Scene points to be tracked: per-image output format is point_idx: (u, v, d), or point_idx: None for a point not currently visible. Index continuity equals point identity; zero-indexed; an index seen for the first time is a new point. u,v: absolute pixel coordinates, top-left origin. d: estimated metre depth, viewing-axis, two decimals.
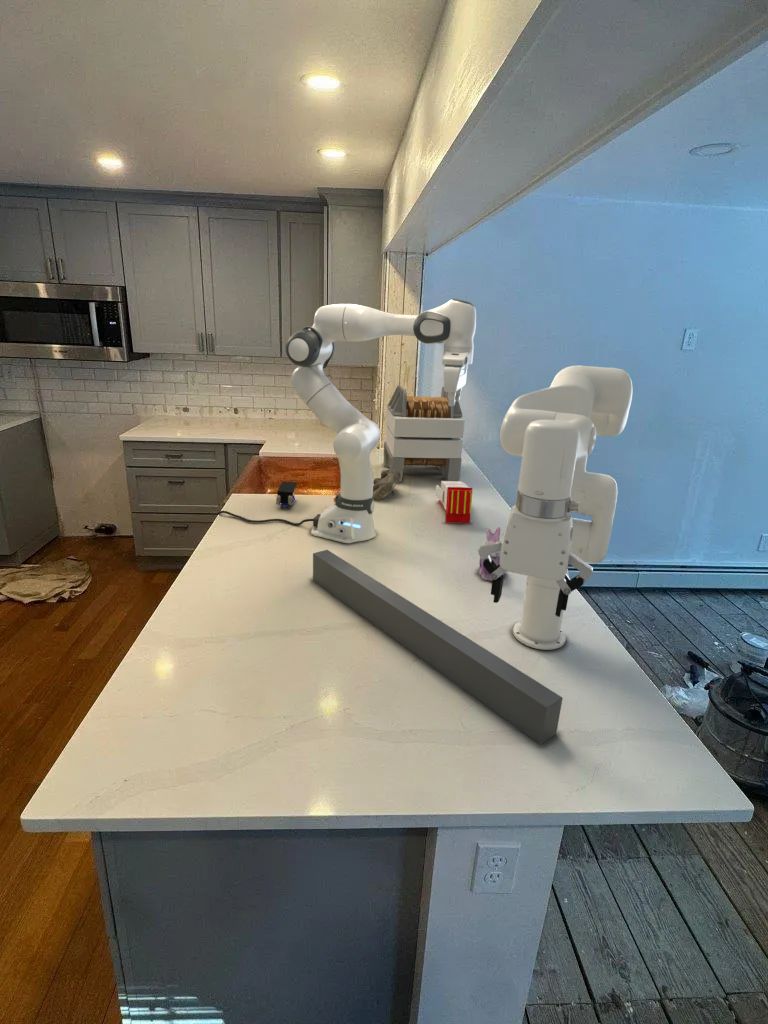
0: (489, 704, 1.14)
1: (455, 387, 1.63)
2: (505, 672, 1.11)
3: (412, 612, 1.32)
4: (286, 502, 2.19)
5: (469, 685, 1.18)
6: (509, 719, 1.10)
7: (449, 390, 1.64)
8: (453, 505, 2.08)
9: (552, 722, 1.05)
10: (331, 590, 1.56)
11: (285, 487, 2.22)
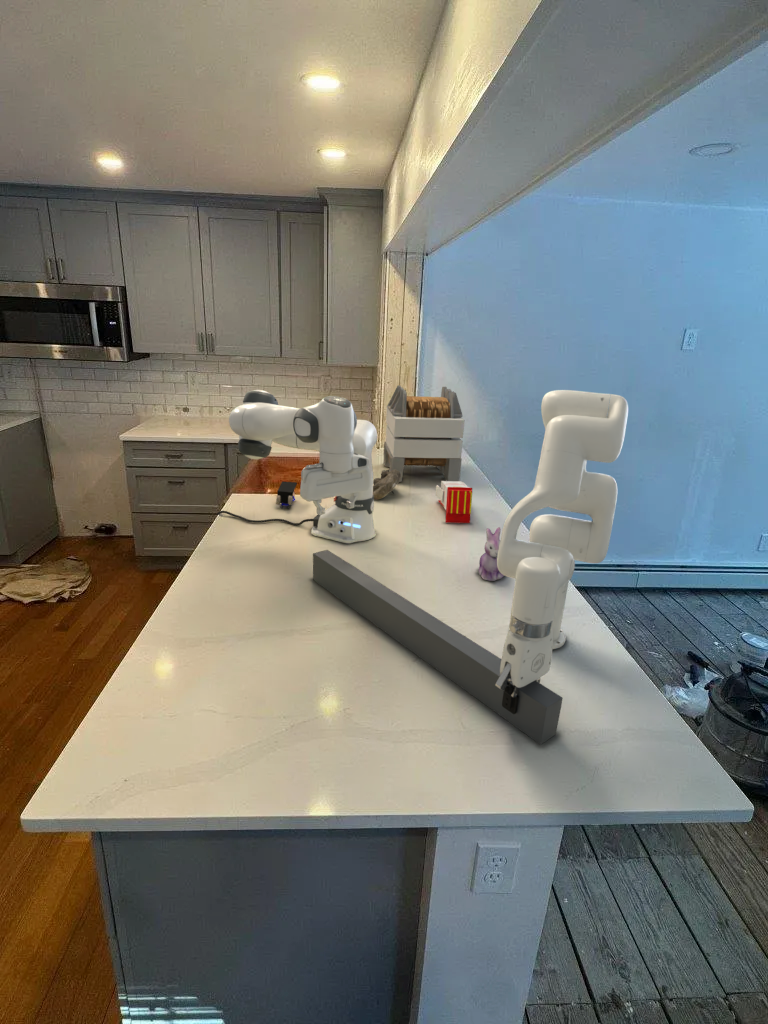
0: (489, 704, 1.14)
1: None
2: None
3: (412, 612, 1.32)
4: (286, 502, 2.19)
5: (469, 685, 1.18)
6: (509, 719, 1.10)
7: None
8: (453, 505, 2.08)
9: (552, 722, 1.05)
10: (331, 590, 1.56)
11: (285, 487, 2.22)
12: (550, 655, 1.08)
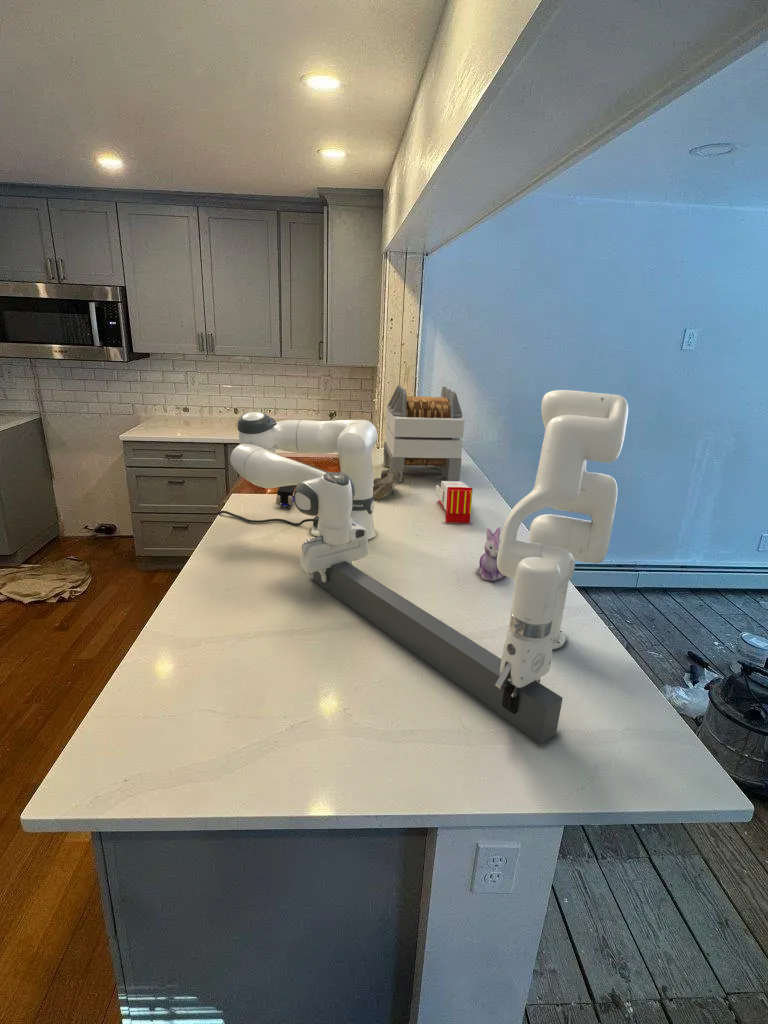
0: (489, 704, 1.14)
1: None
2: None
3: (412, 612, 1.32)
4: (286, 502, 2.19)
5: (469, 685, 1.18)
6: (509, 719, 1.10)
7: None
8: (453, 505, 2.08)
9: (552, 722, 1.05)
10: (331, 590, 1.56)
11: (285, 487, 2.22)
12: (550, 655, 1.08)
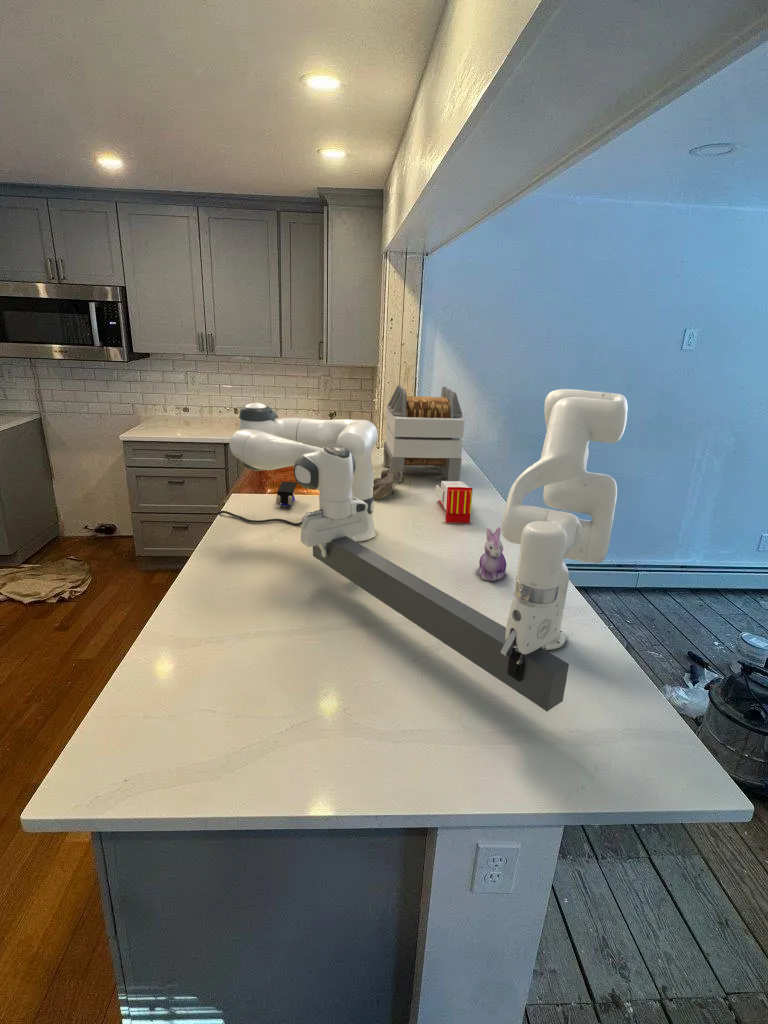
0: (494, 673, 1.12)
1: None
2: None
3: (414, 583, 1.30)
4: (286, 502, 2.19)
5: (473, 655, 1.16)
6: (514, 687, 1.09)
7: None
8: (453, 505, 2.08)
9: (558, 688, 1.03)
10: (331, 566, 1.54)
11: (285, 487, 2.22)
12: (556, 621, 1.06)
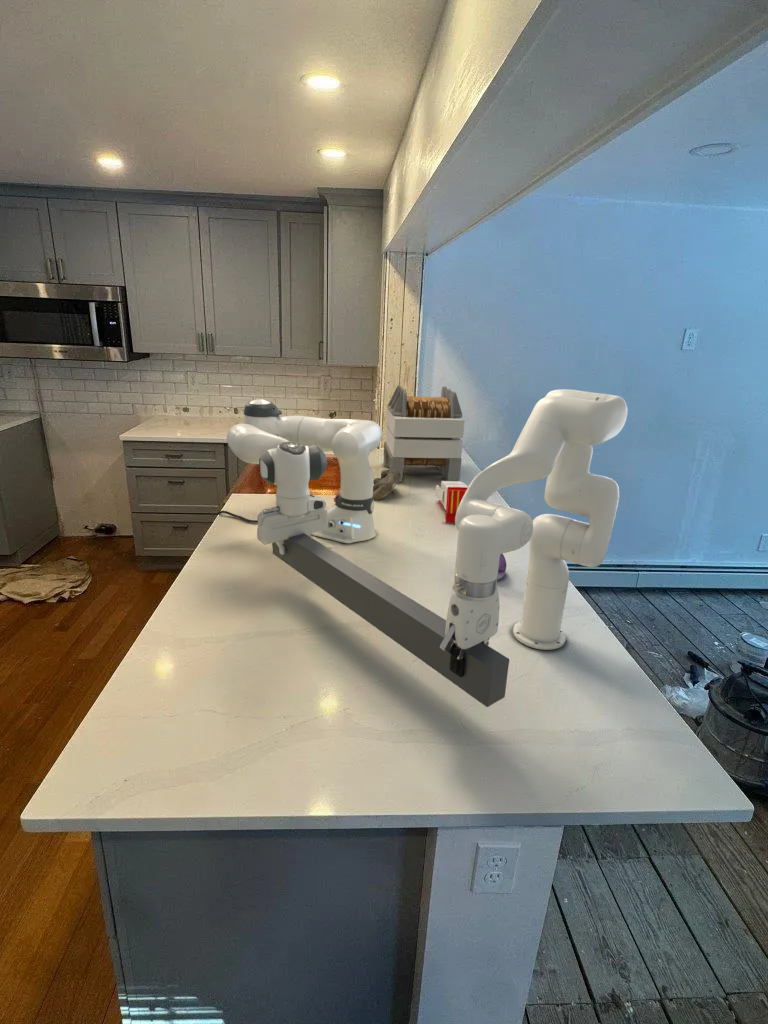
0: (438, 669, 1.11)
1: None
2: None
3: (365, 580, 1.29)
4: None
5: (419, 651, 1.15)
6: (457, 683, 1.08)
7: None
8: (453, 505, 2.08)
9: (498, 684, 1.03)
10: (289, 563, 1.53)
11: None
12: (497, 616, 1.05)
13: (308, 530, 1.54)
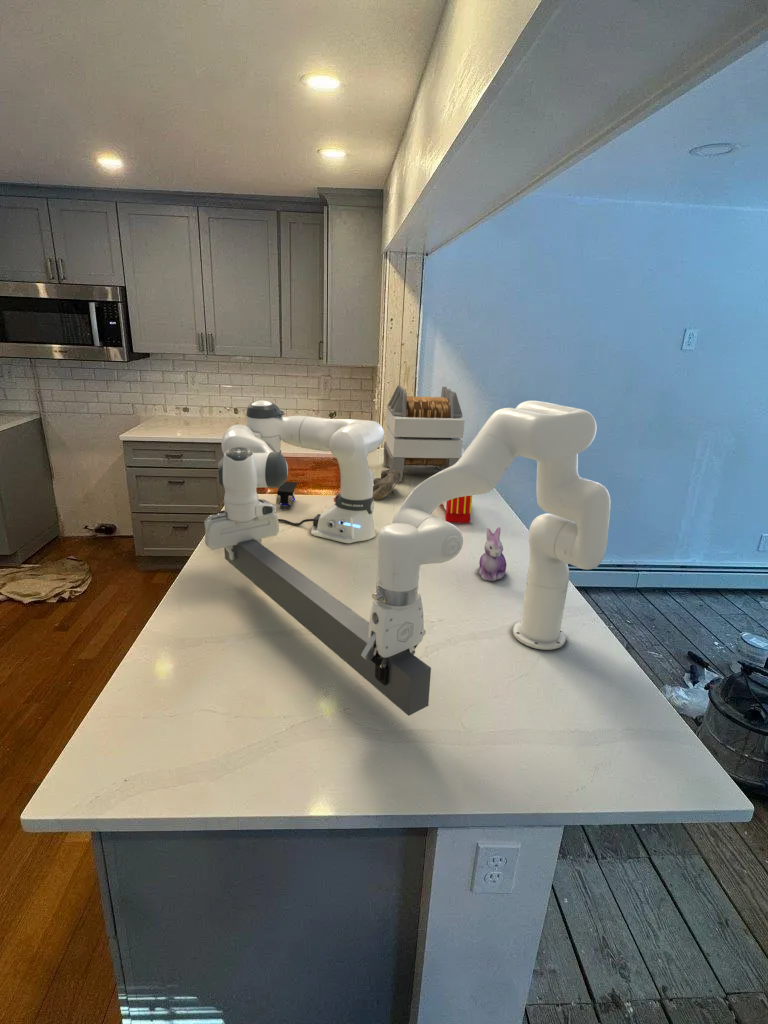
0: (366, 677, 1.11)
1: None
2: None
3: (304, 586, 1.29)
4: (286, 502, 2.19)
5: (350, 658, 1.15)
6: (383, 691, 1.08)
7: None
8: (453, 505, 2.08)
9: (420, 693, 1.02)
10: (239, 569, 1.54)
11: (285, 487, 2.22)
12: (421, 625, 1.05)
13: (258, 535, 1.55)
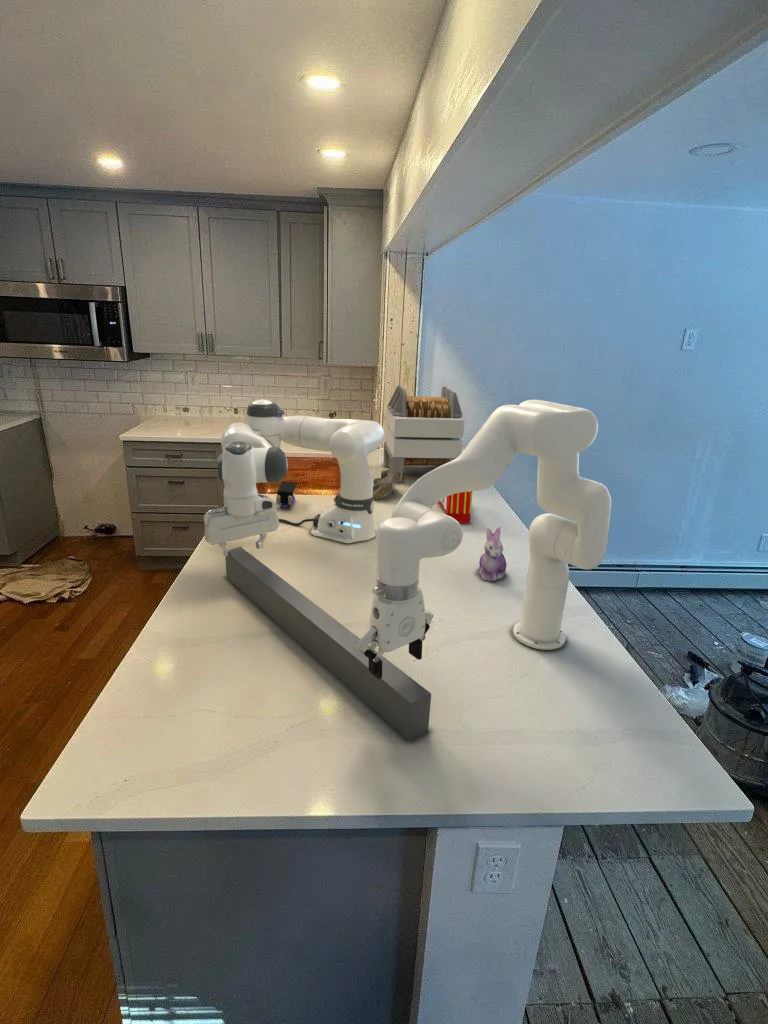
0: (367, 701, 1.13)
1: None
2: None
3: (306, 608, 1.31)
4: (286, 502, 2.19)
5: (351, 682, 1.17)
6: (383, 715, 1.10)
7: None
8: (453, 505, 2.08)
9: (420, 718, 1.05)
10: (240, 588, 1.56)
11: (285, 487, 2.22)
12: (422, 619, 1.05)
13: (258, 530, 1.54)
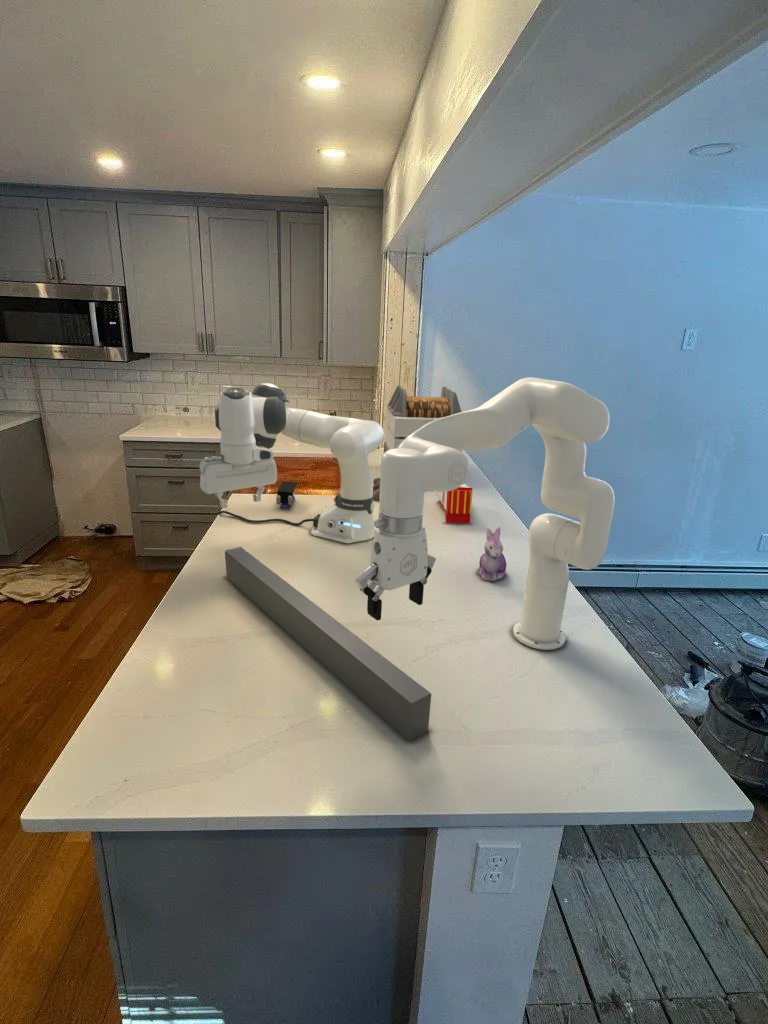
0: (367, 701, 1.13)
1: None
2: (381, 668, 1.11)
3: (306, 608, 1.31)
4: (286, 502, 2.19)
5: (351, 682, 1.17)
6: (383, 715, 1.10)
7: None
8: (453, 505, 2.08)
9: (420, 718, 1.05)
10: (240, 588, 1.56)
11: (285, 487, 2.22)
12: (425, 559, 1.00)
13: (255, 482, 1.49)
